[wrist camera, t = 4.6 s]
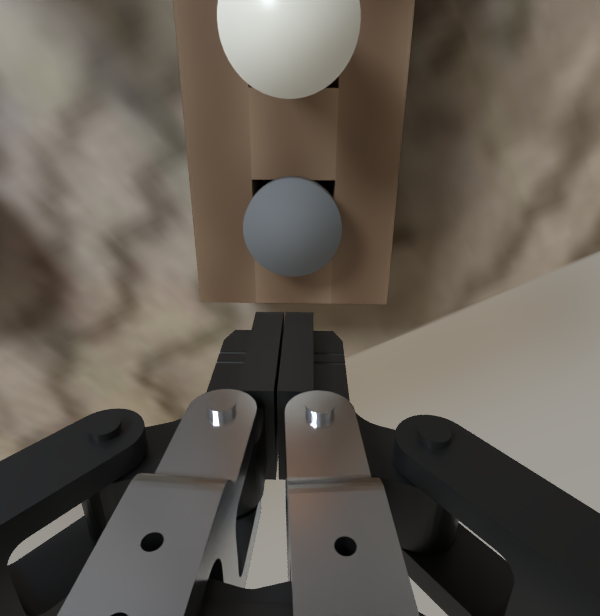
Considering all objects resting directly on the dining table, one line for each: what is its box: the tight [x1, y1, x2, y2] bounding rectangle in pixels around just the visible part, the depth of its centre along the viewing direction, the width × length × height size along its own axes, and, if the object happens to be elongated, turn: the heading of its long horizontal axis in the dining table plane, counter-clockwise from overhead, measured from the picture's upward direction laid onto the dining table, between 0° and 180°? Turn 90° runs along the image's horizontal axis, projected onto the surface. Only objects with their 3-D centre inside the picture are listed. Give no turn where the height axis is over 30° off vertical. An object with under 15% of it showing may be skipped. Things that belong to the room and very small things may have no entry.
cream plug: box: [217, 0, 361, 99], centre depth 18 cm, size 5×5×7 cm
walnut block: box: [173, 0, 415, 304], centre depth 23 cm, size 10×25×6 cm, turn 0°
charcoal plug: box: [243, 176, 342, 277], centre depth 25 cm, size 5×5×7 cm
